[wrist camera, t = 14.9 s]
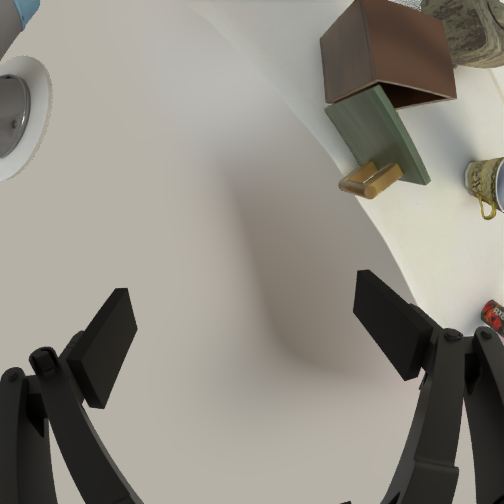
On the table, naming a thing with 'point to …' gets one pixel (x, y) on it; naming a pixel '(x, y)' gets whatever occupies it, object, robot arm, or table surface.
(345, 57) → the cabinet
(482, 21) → the tabletop clock
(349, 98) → the cabinet door
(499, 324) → the deodorant
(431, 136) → the table surface
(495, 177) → the ceramic cup
